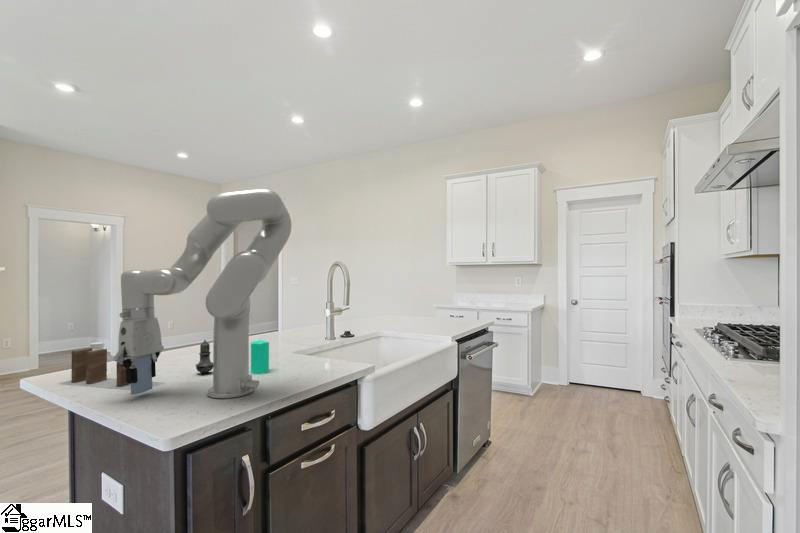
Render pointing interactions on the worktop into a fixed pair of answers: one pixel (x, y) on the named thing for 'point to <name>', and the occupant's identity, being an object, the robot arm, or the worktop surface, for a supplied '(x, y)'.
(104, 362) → the tile
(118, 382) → the tile
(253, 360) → the candle
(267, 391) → the worktop surface
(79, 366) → the tile
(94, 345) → the supplement bottle
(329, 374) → the worktop surface
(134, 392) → the slate tile
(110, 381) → the mat
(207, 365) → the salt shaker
